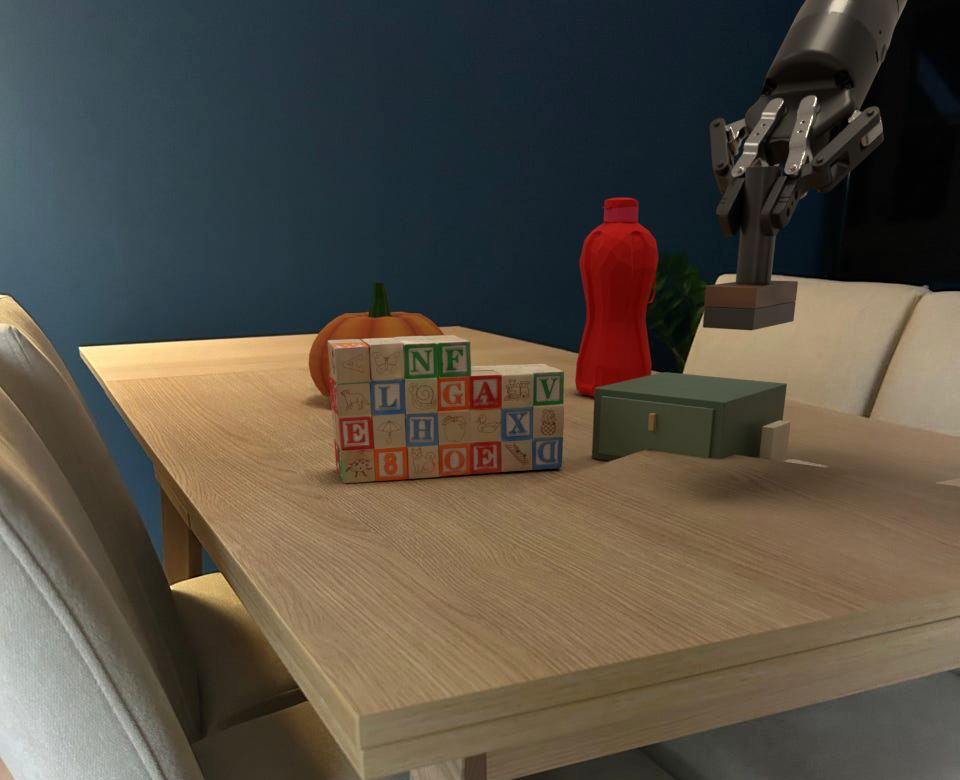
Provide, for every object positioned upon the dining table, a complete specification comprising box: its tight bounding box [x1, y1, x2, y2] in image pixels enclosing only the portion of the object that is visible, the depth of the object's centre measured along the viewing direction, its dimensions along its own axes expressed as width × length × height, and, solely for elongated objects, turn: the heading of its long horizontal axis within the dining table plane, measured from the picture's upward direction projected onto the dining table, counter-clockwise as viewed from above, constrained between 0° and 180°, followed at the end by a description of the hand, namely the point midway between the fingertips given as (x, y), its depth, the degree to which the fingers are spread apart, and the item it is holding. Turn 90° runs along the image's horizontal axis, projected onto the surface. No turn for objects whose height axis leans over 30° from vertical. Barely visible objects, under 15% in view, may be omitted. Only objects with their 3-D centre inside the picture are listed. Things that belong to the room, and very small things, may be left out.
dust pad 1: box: [758, 420, 792, 462], centre depth 95 cm, size 4×4×1 cm
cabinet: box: [591, 371, 788, 462], centre depth 98 cm, size 14×15×7 cm
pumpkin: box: [308, 282, 445, 398], centre depth 129 cm, size 19×19×15 cm
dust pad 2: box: [782, 458, 829, 469], centre depth 90 cm, size 4×4×1 cm
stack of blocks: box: [328, 334, 565, 484], centre depth 92 cm, size 21×6×12 cm, turn 104°
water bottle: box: [574, 197, 659, 398], centre depth 130 cm, size 9×11×25 cm
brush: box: [702, 165, 799, 331], centre depth 73 cm, size 8×4×11 cm, turn 142°
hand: (746, 226), depth 71 cm, fingers closed on brush, 2 cm apart
